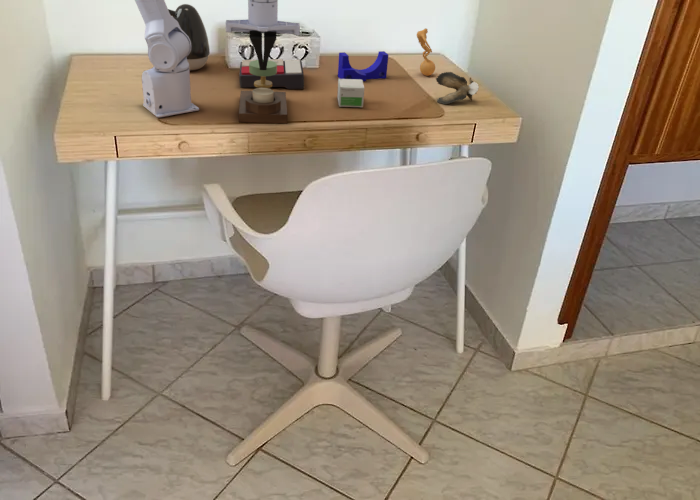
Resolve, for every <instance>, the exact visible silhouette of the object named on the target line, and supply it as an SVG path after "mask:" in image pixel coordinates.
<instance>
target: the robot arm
mask: <svg viewBox="0 0 700 500" xmlns="http://www.w3.org/2000/svg"><path fill="white" fill-rule="evenodd" d="M134 2H135V4H136V6H137V9H138V11H139V13H140V15H141V18H142V20H143V22H144V24H145V26H144V28H145V29H144V40H145V43H146V45H147V57H148V60H149V62H150V63H151V65H152V66H153V67H151V68H149V69H146V70H143V71H142V73H141V86H142V88H141V89H142V97H143V103H142V106H143V107H144V108H145V109H146V110H148V112H150V113H151V114H153V115H154V116H155V117H156V118H164V117H169V116H174V115H175V116H176V115H182V114H187V113H191V112H197V111H200V107H198V106H197V105H196V104H194V103H193V102H192V91H191V89H192V88H191V73H190V71H189V63H188V61H187V56H188V55H189V53H190V51H191V41H190V39H189V37H188V36H187V34H185V33H184V32H183V30H182V29H181V28H180V26H179V23H178V21H177V20H175V19H174V18H173V17H172V16H171V15H170V13H169V11H168V9H169V8H168V6H167V3H166V1H165V0H134ZM278 2H279V0H247V14H248V16H247V17H248V18H247V19H226V20H225V33H248V34H249V40H250V43H251V44H252V47H253V50H254V52H255V54H256V57H257V60H258V62H259V68H260V70H267V62H268V59H269V58H270V55H271V52H272V50H273V47H274V45H275V44H276V42H277V34H282V35H283V34H284V35H294V36H300V34H301V33H300V32H301V26H300V22H290V21H285V20H284V21H282V20H278V15H279V14H278V9H279V8H278V6H279V3H278Z"/></svg>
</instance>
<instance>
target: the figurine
mask: <svg viewBox="0 0 700 500" xmlns="http://www.w3.org/2000/svg"><path fill="white" fill-rule="evenodd" d="M428 33H429V32H428V28H424V29H422V30H418V31H417V32H416V38H417V41H418V43H419V45H420V47H421V48H422V49H423V50H424V51H422V58H423V61H422V62H421V63H420V65H419V71H420V73H421V74H422V75H423V76H425V77H427V76H428V77H429V76H431V75H433V74H434V73H435V71H436V65H435V62H434V61H433V60H431V59H429V58H428V56H429V55H430V54H433V49H432V48H431V46H430V44H429V43H428V41H427V37H428V36H427V34H428Z"/></svg>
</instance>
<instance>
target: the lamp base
mask: <svg viewBox="0 0 700 500" xmlns="http://www.w3.org/2000/svg"><path fill="white" fill-rule="evenodd" d="M252 91H253V90H240V94H239V105H238V106H239V107H238V123H247V124H248V123H250V124H251V123H255V124H288V106H287V105H288V104H287V93H286V91H274V101H273V102H270V103H258V102H254V101H253V92H252Z"/></svg>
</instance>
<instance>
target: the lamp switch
mask: <svg viewBox="0 0 700 500" xmlns="http://www.w3.org/2000/svg"><path fill="white" fill-rule="evenodd" d="M251 91H252V92H253V101H254V102H258V103H270V102H273V101H274V92H275V91H274V90H273V89H272V88H257V87H255V88H253V90H251Z"/></svg>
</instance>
